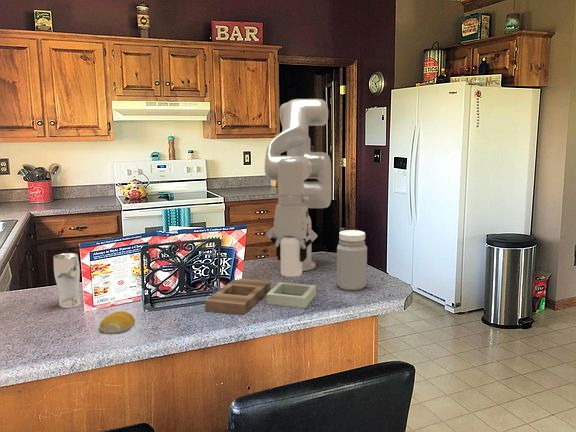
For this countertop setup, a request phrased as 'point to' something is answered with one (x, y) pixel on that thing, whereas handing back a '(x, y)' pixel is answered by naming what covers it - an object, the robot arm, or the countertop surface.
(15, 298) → the countertop surface
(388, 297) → the countertop surface
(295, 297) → the sage holder
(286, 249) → the can
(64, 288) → the beer glass
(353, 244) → the jar
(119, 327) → the bread roll
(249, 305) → the walnut holder
